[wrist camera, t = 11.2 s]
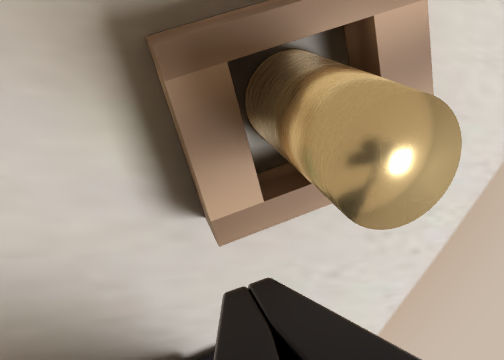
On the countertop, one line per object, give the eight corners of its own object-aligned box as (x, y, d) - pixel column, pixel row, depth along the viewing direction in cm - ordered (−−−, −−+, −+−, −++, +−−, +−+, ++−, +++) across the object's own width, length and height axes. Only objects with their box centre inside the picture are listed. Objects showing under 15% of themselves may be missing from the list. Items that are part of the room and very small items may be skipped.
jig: (404, 144, 23) (437, 162, 20) (205, 218, 21) (218, 246, 19) (386, -35, 19) (425, -37, 17) (145, 36, 17) (152, 45, 15)
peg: (341, 125, 21) (464, 200, 14) (258, 156, 20) (344, 249, 13) (325, 36, 19) (457, 70, 12) (234, 66, 19) (319, 120, 12)
